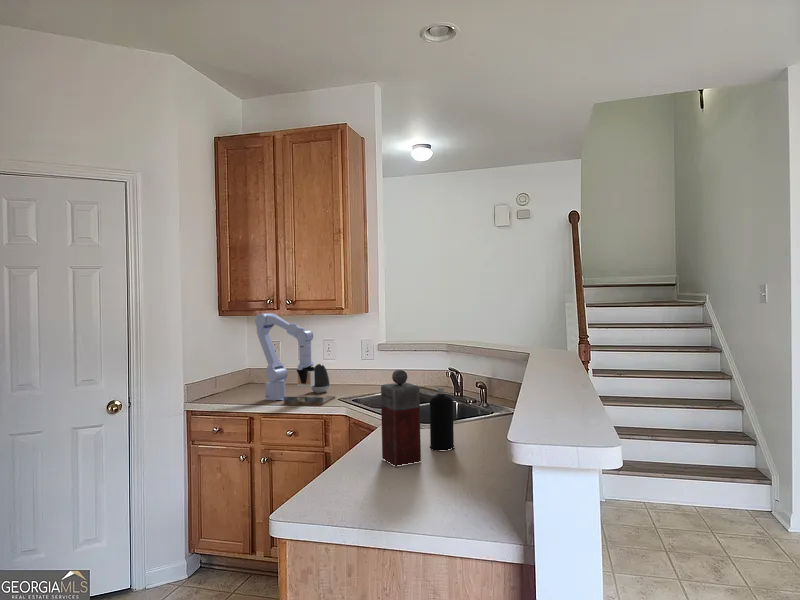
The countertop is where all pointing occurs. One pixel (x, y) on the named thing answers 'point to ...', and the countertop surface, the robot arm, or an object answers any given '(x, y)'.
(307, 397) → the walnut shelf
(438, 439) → the aerosol can
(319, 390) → the black rounded upright piece
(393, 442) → the pepper mill
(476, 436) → the countertop surface
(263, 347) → the robot arm
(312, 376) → the cream box
